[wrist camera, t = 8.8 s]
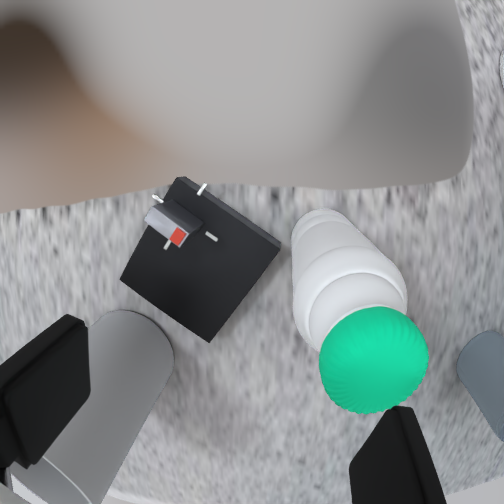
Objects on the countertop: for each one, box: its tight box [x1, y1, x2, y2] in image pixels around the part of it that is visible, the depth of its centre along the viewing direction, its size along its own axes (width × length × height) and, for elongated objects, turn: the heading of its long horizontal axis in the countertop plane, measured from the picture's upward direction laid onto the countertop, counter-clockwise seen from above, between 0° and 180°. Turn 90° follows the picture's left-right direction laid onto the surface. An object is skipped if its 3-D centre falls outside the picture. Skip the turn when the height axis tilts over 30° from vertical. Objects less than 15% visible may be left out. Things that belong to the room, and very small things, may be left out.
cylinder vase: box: [10, 310, 174, 504], centre depth 30 cm, size 12×12×25 cm
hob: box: [120, 177, 281, 343], centre depth 36 cm, size 15×14×3 cm
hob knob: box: [144, 200, 204, 248], centre depth 31 cm, size 4×2×6 cm, turn 54°
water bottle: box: [291, 209, 429, 414], centre depth 23 cm, size 7×7×25 cm
